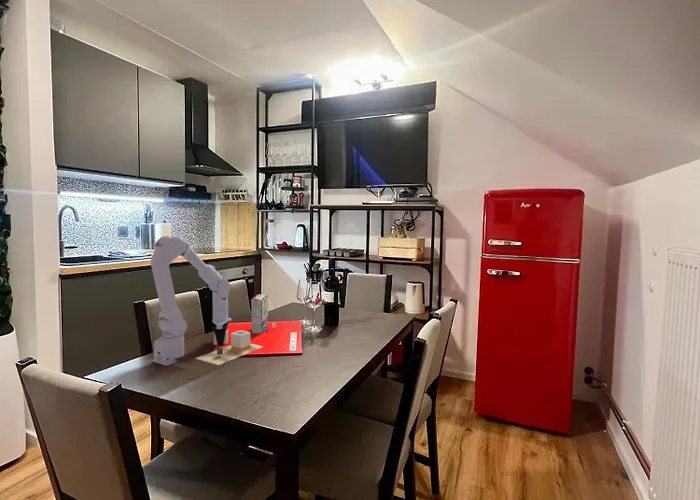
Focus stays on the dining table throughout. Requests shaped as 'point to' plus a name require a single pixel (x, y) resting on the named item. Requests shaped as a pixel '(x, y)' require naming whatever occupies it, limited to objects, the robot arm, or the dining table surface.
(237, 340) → the seated sleeve
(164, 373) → the dining table surface
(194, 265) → the robot arm
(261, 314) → the candy bar box
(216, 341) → the loose sleeve
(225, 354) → the pin board
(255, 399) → the dining table surface
